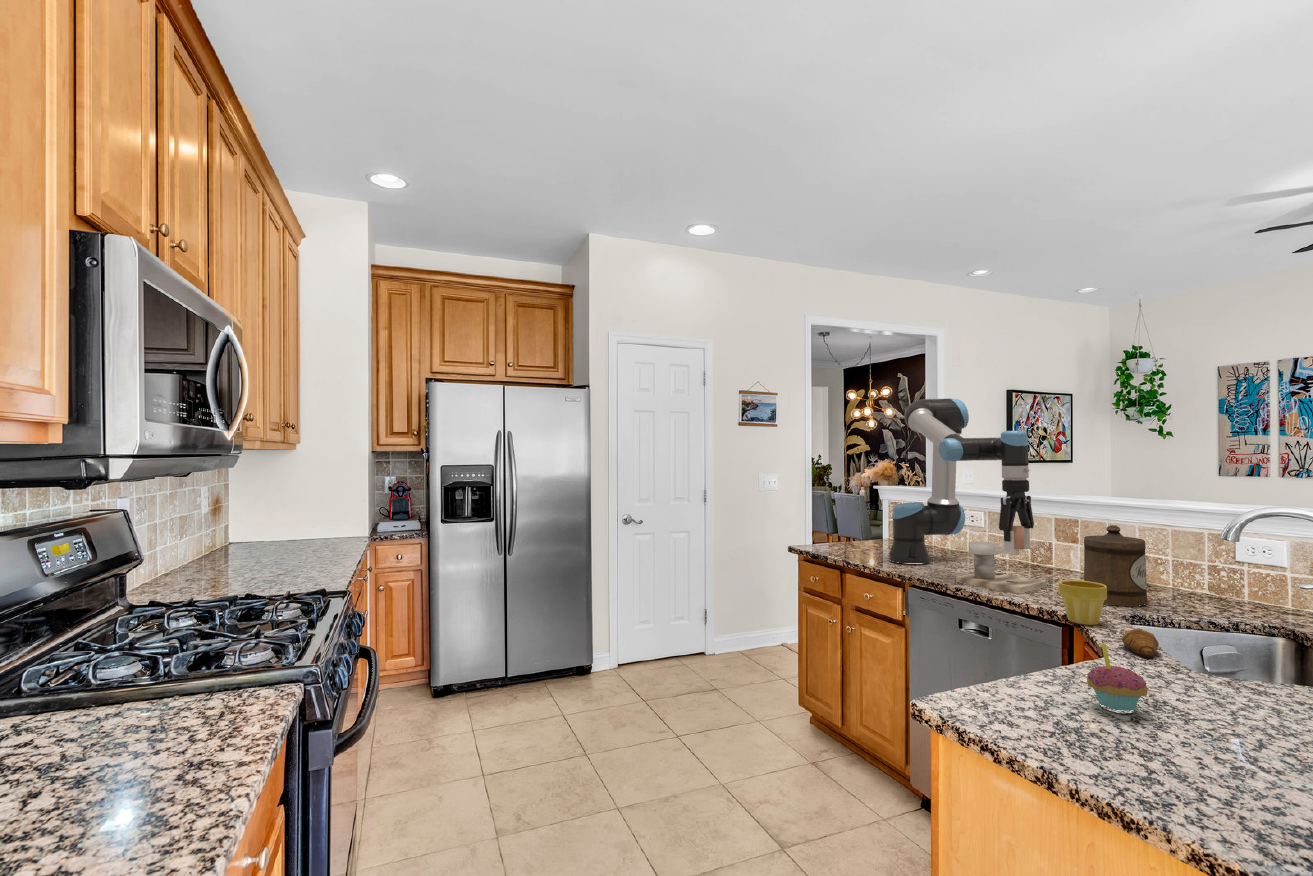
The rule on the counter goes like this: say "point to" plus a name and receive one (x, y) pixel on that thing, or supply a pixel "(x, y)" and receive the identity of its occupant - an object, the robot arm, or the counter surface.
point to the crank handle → (994, 548)
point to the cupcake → (1116, 685)
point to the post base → (998, 577)
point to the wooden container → (1117, 566)
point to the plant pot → (1083, 600)
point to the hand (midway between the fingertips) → (1017, 550)
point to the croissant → (1140, 642)
